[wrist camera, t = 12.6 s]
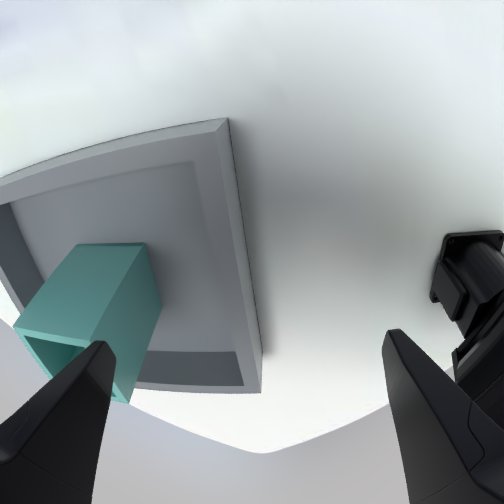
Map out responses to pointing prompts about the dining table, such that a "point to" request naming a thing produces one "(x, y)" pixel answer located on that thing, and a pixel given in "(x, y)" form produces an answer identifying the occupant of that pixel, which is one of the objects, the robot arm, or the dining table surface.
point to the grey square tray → (149, 244)
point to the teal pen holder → (95, 311)
